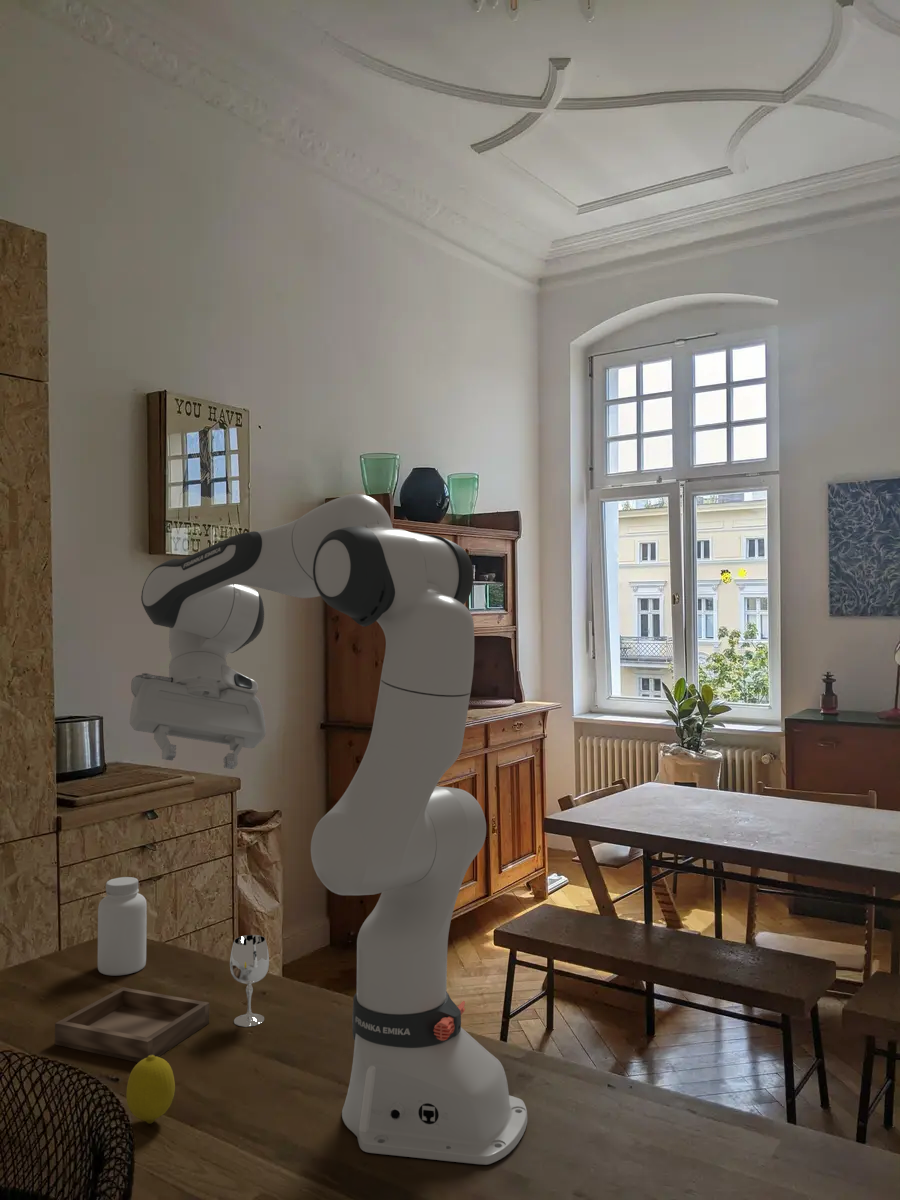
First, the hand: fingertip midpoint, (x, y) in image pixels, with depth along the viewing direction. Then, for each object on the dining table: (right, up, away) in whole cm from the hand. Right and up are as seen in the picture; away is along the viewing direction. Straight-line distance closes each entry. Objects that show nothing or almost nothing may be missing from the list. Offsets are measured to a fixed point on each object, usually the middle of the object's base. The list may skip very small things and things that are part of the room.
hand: (200, 762), depth 137 cm
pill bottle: (-20, -40, +25) cm, 51 cm away
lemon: (0, -39, -24) cm, 46 cm away
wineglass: (+6, -40, +4) cm, 40 cm away
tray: (-10, -39, 0) cm, 40 cm away
